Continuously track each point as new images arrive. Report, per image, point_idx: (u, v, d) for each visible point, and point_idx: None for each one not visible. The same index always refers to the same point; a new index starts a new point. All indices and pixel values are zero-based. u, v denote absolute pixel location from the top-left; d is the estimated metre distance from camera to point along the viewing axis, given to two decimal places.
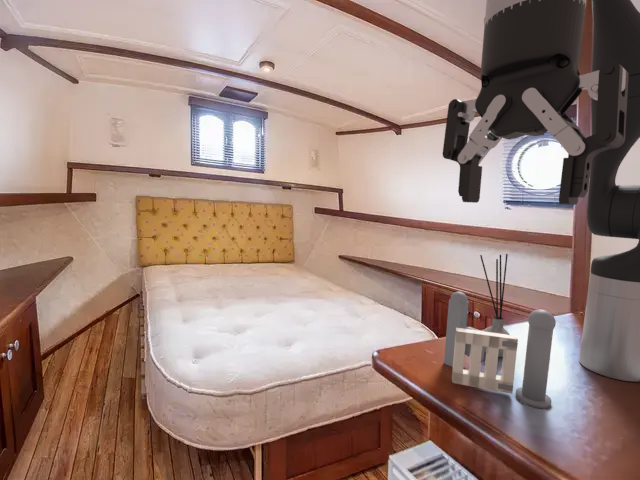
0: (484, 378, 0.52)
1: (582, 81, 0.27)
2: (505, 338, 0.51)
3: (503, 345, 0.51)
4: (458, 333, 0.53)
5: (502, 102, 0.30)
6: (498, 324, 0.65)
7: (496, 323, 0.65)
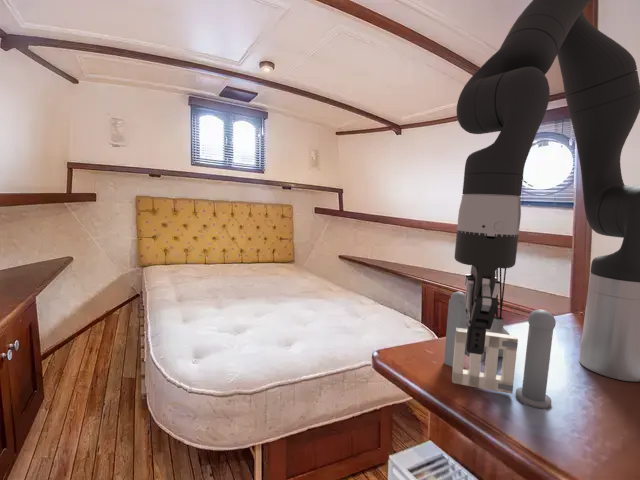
0: (484, 378, 0.52)
1: None
2: (505, 338, 0.51)
3: (503, 345, 0.51)
4: (458, 333, 0.53)
5: None
6: (498, 324, 0.65)
7: (496, 323, 0.65)
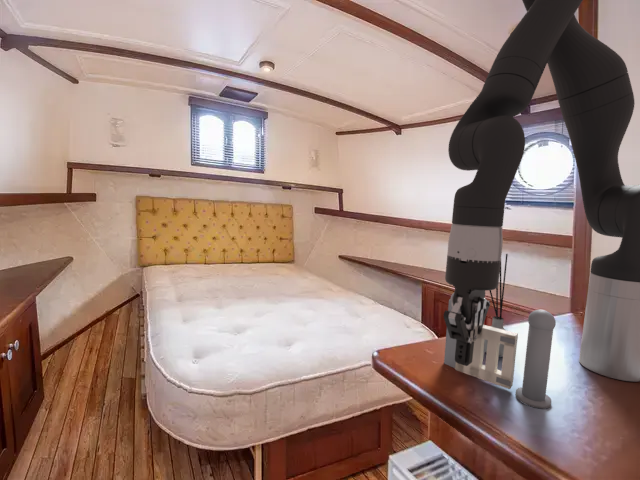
0: (483, 370, 0.55)
1: None
2: (503, 333, 0.53)
3: (502, 340, 0.53)
4: None
5: (480, 304, 0.51)
6: (498, 324, 0.65)
7: (496, 323, 0.65)
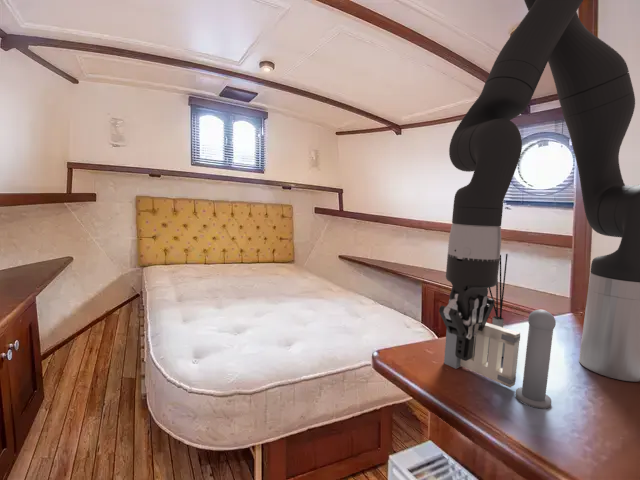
0: (486, 367, 0.56)
1: None
2: (504, 332, 0.53)
3: (503, 339, 0.54)
4: None
5: (477, 301, 0.52)
6: (498, 324, 0.65)
7: (496, 323, 0.65)
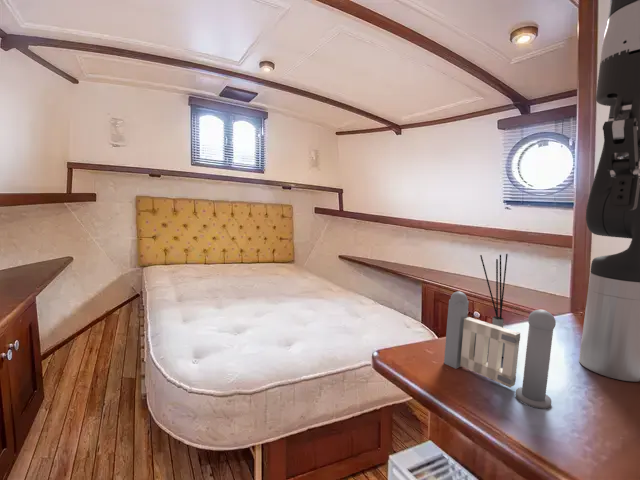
0: (486, 367, 0.56)
1: None
2: (504, 332, 0.53)
3: (503, 339, 0.54)
4: (465, 321, 0.59)
5: None
6: (498, 324, 0.65)
7: (496, 323, 0.65)
